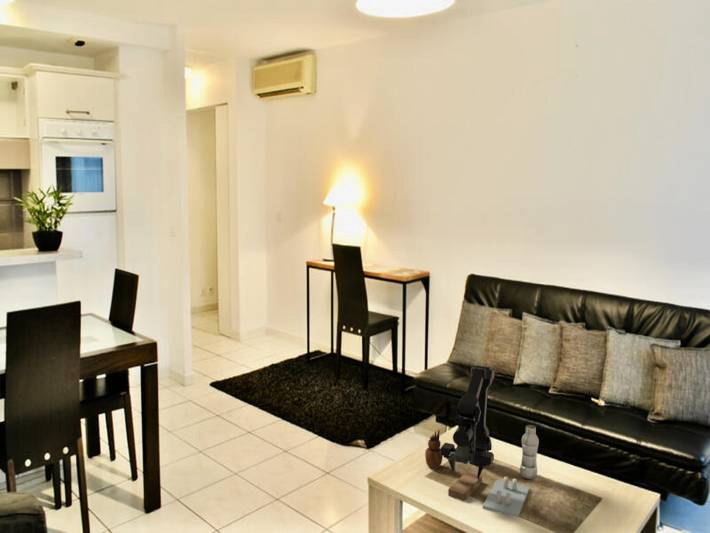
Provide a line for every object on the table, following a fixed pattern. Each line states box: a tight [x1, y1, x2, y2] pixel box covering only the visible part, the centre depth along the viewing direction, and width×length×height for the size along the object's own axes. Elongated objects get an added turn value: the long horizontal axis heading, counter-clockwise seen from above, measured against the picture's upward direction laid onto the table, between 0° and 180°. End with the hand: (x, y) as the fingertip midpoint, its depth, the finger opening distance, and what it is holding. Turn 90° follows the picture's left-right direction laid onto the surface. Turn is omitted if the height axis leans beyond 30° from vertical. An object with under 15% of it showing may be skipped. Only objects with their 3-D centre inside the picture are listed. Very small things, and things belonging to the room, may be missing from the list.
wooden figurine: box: [425, 429, 444, 469], centre depth 225 cm, size 7×6×15 cm
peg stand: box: [482, 476, 530, 518], centre depth 202 cm, size 20×12×5 cm, turn 153°
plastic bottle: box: [519, 424, 540, 480], centre depth 217 cm, size 6×7×20 cm
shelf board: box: [447, 471, 483, 502], centre depth 209 cm, size 16×6×3 cm, turn 144°
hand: (465, 475), depth 209 cm, fingers open, 9 cm apart
